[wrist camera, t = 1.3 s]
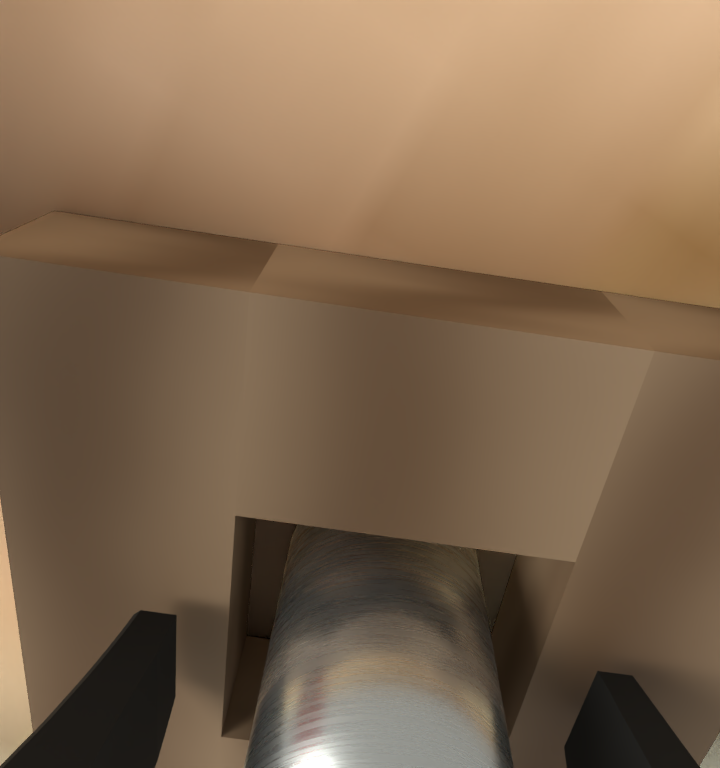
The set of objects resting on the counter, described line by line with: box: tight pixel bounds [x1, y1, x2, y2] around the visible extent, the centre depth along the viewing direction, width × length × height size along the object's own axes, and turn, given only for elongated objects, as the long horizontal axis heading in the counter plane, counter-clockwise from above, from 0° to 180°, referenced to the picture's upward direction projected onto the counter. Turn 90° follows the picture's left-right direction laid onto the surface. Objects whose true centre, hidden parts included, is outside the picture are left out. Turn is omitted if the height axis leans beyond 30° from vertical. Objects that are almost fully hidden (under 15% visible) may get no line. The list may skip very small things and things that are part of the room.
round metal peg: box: [244, 524, 514, 768], centre depth 11 cm, size 4×4×7 cm
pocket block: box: [0, 211, 720, 768], centre depth 13 cm, size 13×13×2 cm
